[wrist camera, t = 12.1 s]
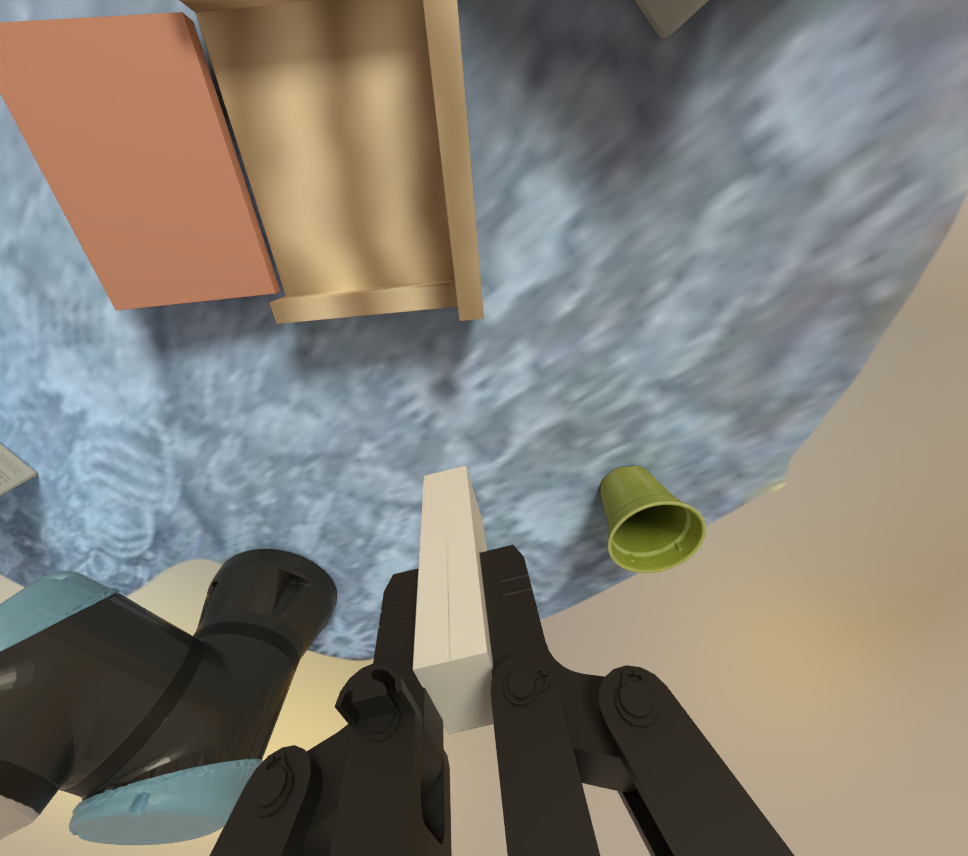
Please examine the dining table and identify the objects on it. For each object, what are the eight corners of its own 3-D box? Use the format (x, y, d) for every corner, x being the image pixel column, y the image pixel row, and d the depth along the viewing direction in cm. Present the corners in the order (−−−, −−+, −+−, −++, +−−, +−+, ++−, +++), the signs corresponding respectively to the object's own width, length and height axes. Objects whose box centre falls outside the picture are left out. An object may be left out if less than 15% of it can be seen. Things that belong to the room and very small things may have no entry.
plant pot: (624, 528, 48) (653, 586, 40) (568, 494, 45) (588, 550, 37) (681, 477, 44) (726, 530, 37) (625, 437, 42) (660, 486, 34)
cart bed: (451, -33, 24) (442, -177, 16) (479, 293, 34) (483, 318, 25) (204, -8, 25) (55, -136, 16) (301, 310, 34) (242, 341, 25)
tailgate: (182, 12, 23) (-36, 24, 22) (275, 293, 30) (115, 310, 29) (200, 28, 24) (0, 40, 24) (284, 289, 32) (134, 305, 31)
